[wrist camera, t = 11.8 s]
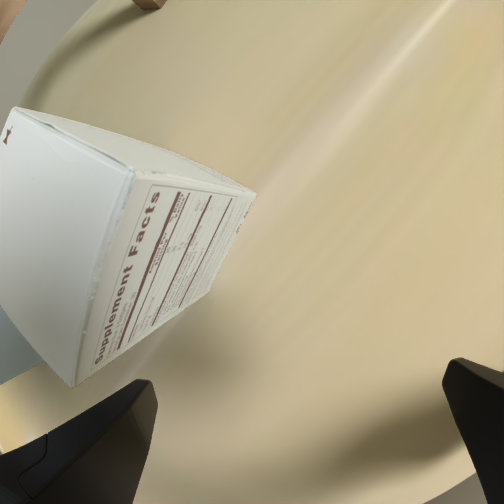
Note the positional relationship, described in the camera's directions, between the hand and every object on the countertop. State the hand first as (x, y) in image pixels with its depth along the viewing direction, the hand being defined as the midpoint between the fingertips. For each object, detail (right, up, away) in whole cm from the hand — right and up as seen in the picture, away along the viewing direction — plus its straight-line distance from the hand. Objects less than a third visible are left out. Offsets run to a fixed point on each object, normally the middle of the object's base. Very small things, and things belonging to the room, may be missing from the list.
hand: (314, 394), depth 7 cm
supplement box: (-6, +6, +12) cm, 14 cm away
